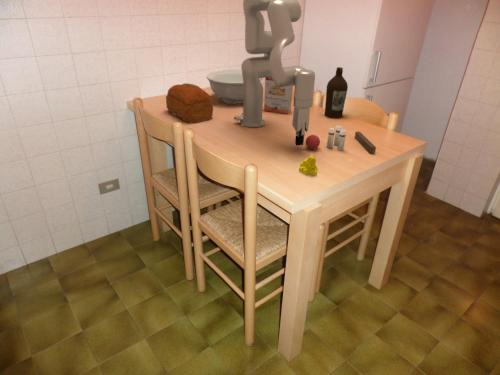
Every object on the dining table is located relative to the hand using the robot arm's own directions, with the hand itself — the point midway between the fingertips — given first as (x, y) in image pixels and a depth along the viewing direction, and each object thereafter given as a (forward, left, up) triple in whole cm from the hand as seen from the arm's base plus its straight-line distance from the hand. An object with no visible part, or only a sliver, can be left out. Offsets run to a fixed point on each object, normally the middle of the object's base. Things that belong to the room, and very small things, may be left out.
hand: (299, 144), depth 152 cm
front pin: (+14, 0, -2) cm, 14 cm away
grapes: (-1, -21, -2) cm, 22 cm away
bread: (-48, +48, -2) cm, 68 cm away
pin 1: (+18, +3, -2) cm, 18 cm away
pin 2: (+18, -2, -2) cm, 18 cm away
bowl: (-22, +74, -2) cm, 77 cm away
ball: (+6, 0, +1) cm, 6 cm away
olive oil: (+29, +42, -2) cm, 51 cm away
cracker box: (0, +51, -2) cm, 51 cm away
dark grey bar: (+30, +1, -2) cm, 30 cm away
